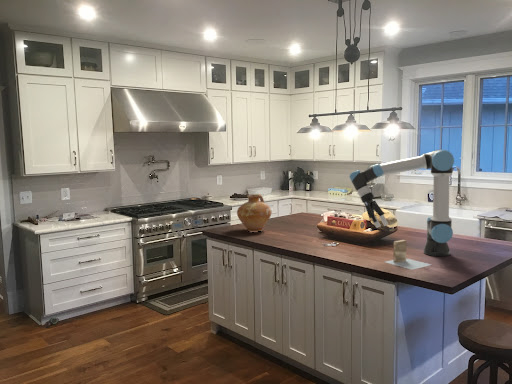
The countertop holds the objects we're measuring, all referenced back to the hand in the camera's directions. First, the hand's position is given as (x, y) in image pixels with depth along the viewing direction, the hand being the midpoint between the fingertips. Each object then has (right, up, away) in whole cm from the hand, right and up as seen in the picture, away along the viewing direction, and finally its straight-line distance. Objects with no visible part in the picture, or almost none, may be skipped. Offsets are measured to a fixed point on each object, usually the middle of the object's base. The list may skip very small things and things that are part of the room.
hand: (382, 226), depth 265 cm
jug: (-76, -12, +99) cm, 125 cm away
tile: (+9, -20, -4) cm, 22 cm away
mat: (+12, -21, -8) cm, 26 cm away
